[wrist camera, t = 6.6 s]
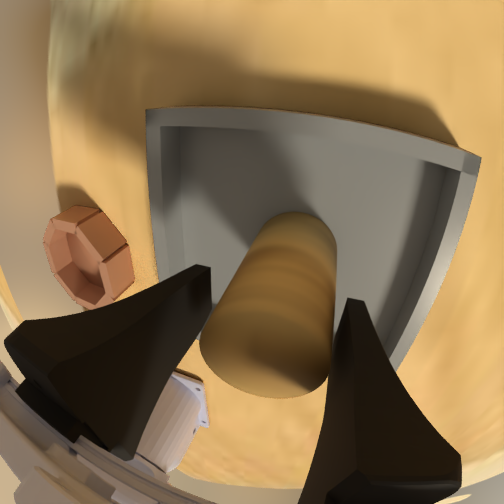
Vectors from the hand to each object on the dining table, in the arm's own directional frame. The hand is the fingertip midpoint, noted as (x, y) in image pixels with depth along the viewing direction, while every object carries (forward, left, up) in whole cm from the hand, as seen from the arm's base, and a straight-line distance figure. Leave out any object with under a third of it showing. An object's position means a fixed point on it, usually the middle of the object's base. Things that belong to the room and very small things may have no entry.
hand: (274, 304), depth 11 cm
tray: (0, 0, -5) cm, 5 cm away
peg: (0, 0, -4) cm, 4 cm away
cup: (-4, +15, -5) cm, 16 cm away
